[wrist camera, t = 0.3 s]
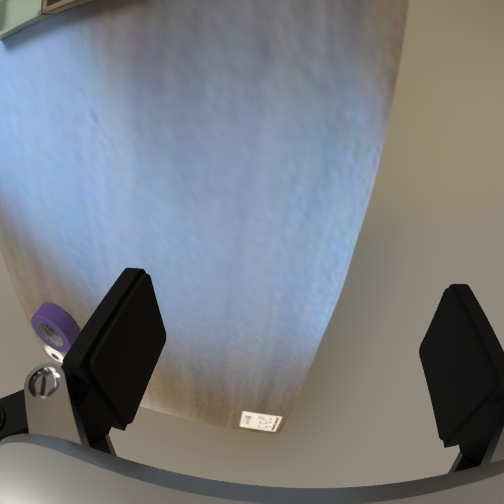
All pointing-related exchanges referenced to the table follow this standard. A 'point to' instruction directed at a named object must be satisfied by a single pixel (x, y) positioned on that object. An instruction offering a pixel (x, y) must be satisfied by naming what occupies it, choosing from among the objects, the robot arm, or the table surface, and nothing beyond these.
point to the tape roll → (55, 327)
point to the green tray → (19, 15)
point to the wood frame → (60, 5)
